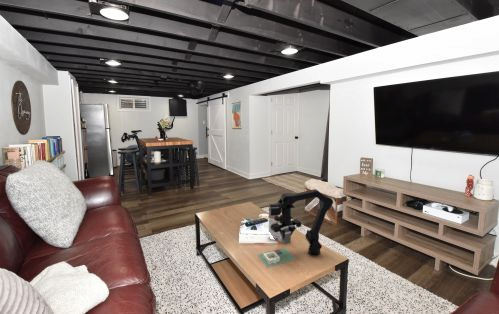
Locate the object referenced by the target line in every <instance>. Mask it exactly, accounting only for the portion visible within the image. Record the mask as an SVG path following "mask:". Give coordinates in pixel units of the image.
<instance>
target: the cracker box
mask: <svg viewBox="0 0 499 314" xmlns="http://www.w3.org/2000/svg"><path fill="white" fill-rule="evenodd" d="M281 215H282V211H281ZM275 216H276V215H275ZM278 216H280V215H278ZM275 223H277V224H278V225H282V224H281V223H280V222H277V221H275V219H274V216H270V214H269V213H268V233H269V232H270V233H271V235H272V236H273V238H274V239H275V240H274V241H275V242H278V243H280V244H284V243H283V242H282V236H281V234H280V232H274V231H273V230H272V229H271V225H272V224H275ZM285 228H288V227H284V228H283V229H285Z"/></svg>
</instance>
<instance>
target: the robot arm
mask: <svg viewBox="0 0 499 314" xmlns="http://www.w3.org/2000/svg"><path fill="white" fill-rule="evenodd" d="M313 198H317V199H318V200H319V201H318V210H317V212H316V216H315V218H314V221H313V224H312V227H311V228H310V229H307V231H306V232H305V240H306V241H307V243H308V244H309V245H308V255H310V256H315V257H316V256H319V255H320V254H321V249H322V247H323V245H322V244H321V243H320V241H319V240H320V230H321V227H322V225H323V222H324V219H325V217H326V215H327V212H328V211H329V210H330V209H331V208H332V206H333V205H334V199H333V198H331V197H330V196H329V195H327V194H323V193H322V192H320V191H319V190H318V189H316V188H313V189H311V190H305V191H301V192H295V193H293V192H284V193H282V194H281V195H280V198H279V200H278V201H277V203H270V204H269V206H268V215H269V214H270V216H274V219H275V221H277V222H280V223H281V224H282V225H278V224H277V223H275V224H272V225H271V229H272V230H273V231H274V232H280V234H281V236H282V239H284V234H285V231H284V230H283V228H284V227H288V229H289V230H290V231H291V236H292V235H293V233H294V231H296V229H297V228H301V227H302V222H301V221H300V220H298V218H296V219H293V216H292V209H294V208H295V206H294V204H295V203H296V202H300V201H303V200H309V199H313ZM281 212H282V215H281ZM275 215H276V216H275ZM278 215H280V216H278Z"/></svg>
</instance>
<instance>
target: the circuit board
mask: <svg viewBox="0 0 499 314" xmlns="http://www.w3.org/2000/svg"><path fill="white" fill-rule="evenodd" d="M257 257H258V258H259V259H260V261H261V262H262V263H263V264H264V265H265V267H266V268H270V267H274V266H277V265H280V264H284V263H289V262H292V261H295V260H297V258H296V257H295V256H294V255H293V254H292V253H291V252H290V251H289V250H288V249H287V248H285V247H283V248H278V249H275V250H271V251H268V252H263V253H259V254H257Z"/></svg>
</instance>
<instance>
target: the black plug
mask: <svg viewBox="0 0 499 314" xmlns="http://www.w3.org/2000/svg"><path fill="white" fill-rule="evenodd" d="M283 230H284V231H285V234H284V239H282V242H283V243H282V244H284V245H288V244H291V240H292V239H291V237H292V235H291V231H290V230H289V229H288V228H285V229H283Z"/></svg>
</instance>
